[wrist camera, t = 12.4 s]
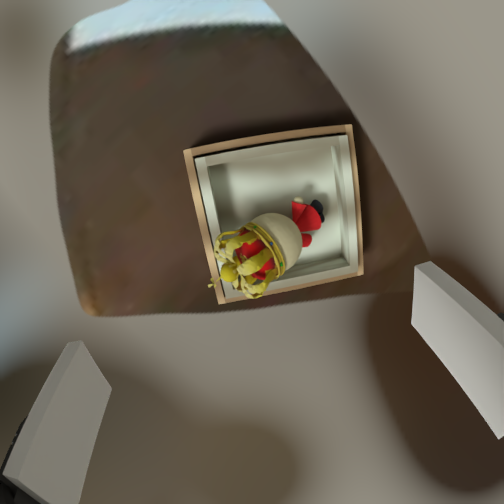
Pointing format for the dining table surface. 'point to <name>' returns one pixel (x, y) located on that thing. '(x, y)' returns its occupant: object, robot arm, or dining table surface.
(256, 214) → the square wooden tray
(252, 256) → the toy
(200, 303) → the dining table surface
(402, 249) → the dining table surface
